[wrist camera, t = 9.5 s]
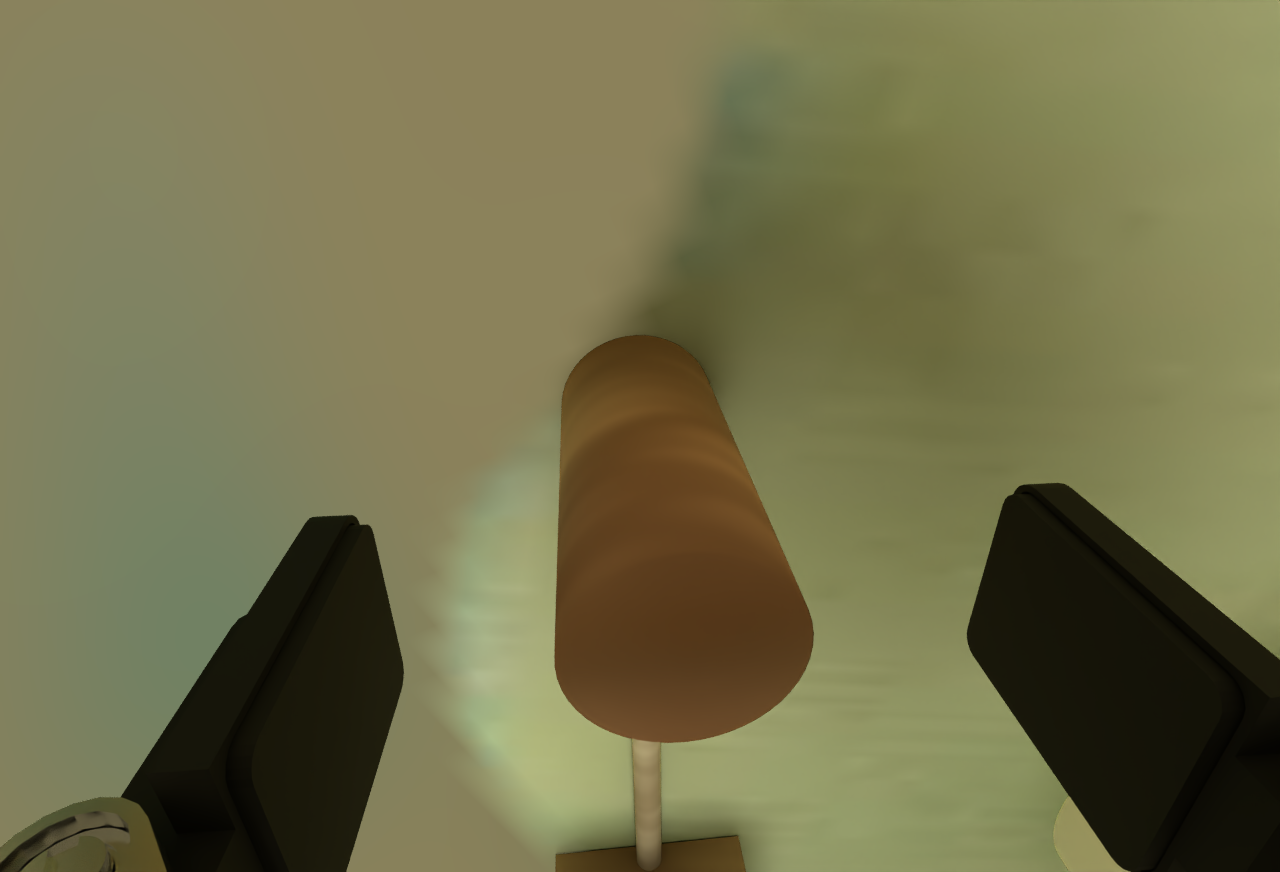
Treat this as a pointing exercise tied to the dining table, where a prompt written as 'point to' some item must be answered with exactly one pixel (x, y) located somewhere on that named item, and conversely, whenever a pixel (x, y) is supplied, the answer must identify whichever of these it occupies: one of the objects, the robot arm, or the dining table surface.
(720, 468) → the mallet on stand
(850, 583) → the dining table surface
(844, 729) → the dining table surface
